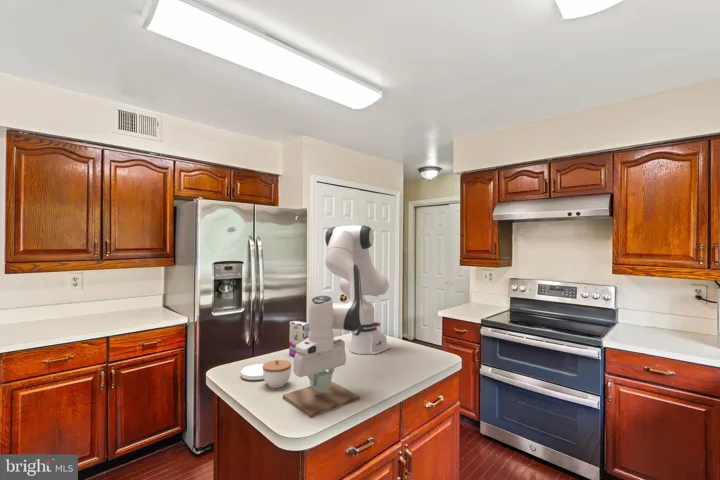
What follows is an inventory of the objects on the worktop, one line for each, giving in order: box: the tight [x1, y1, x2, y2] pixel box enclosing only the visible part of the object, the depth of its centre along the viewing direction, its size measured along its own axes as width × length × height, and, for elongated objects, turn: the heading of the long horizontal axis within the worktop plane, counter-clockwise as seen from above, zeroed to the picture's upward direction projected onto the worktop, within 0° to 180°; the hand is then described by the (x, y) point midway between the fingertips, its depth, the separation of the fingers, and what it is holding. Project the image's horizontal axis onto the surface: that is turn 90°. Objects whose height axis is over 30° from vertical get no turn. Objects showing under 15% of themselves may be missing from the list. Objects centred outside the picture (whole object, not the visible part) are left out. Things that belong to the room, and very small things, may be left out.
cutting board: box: [282, 380, 360, 418], centre depth 122 cm, size 20×18×1 cm
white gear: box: [240, 363, 265, 381], centre depth 144 cm, size 14×14×2 cm
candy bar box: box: [288, 320, 310, 358], centre depth 167 cm, size 11×5×16 cm, turn 47°
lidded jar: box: [263, 359, 292, 389], centre depth 134 cm, size 11×11×9 cm
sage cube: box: [310, 370, 332, 392], centre depth 122 cm, size 5×5×5 cm
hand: (320, 383), depth 122 cm, fingers closed on sage cube, 5 cm apart
